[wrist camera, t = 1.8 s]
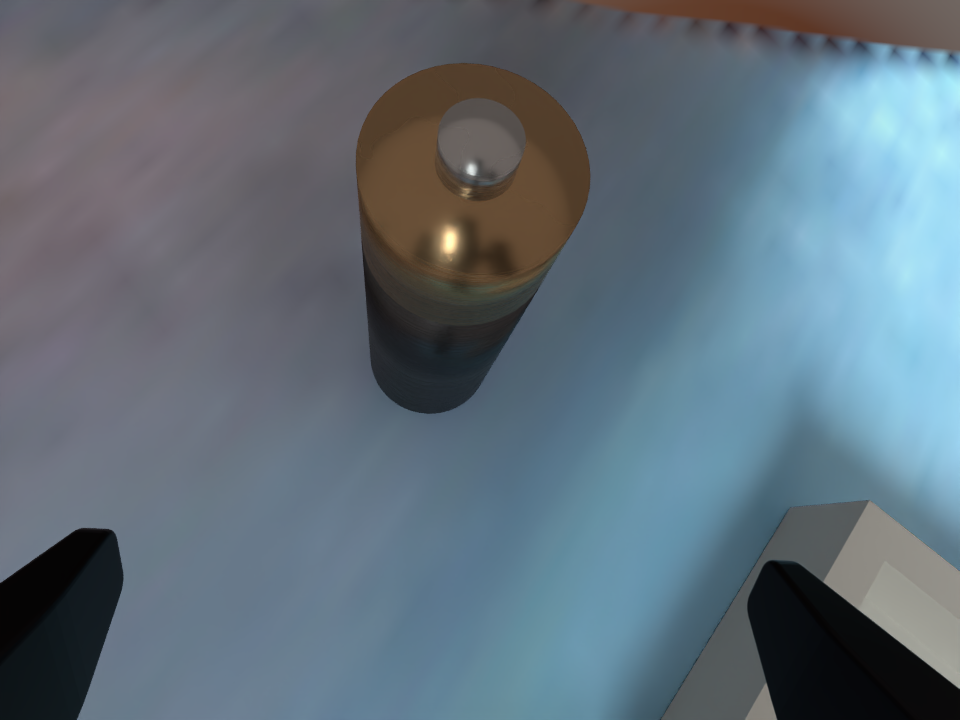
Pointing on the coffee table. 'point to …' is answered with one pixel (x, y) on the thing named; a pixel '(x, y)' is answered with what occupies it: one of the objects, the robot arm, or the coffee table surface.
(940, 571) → the bin
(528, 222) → the cell
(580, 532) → the coffee table surface
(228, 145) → the coffee table surface
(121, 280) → the coffee table surface
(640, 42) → the coffee table surface
